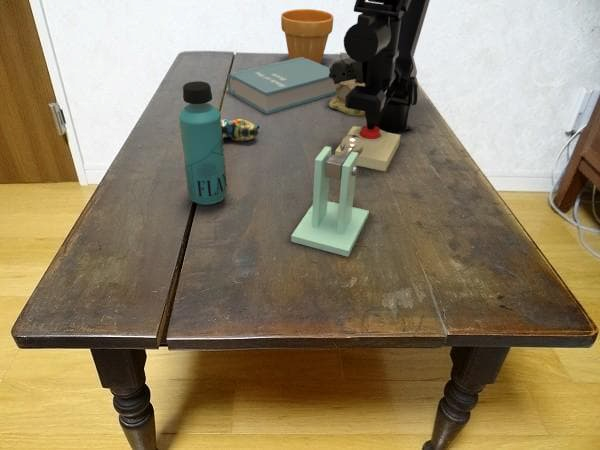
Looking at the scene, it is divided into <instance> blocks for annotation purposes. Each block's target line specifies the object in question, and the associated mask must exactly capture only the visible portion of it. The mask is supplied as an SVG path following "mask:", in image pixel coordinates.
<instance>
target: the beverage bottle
mask: <svg viewBox="0 0 600 450" xmlns="http://www.w3.org/2000/svg"><path fill="white" fill-rule="evenodd" d="M182 100H183V101H184V102H185V103H187V105H185V106H184V107H183V108H182V109H181V110H180V111H179V113H178V116H177V119H178V121H179V128H180V137H181V145H182V151H183V152H182V153H183V159H184V171H185V178H186V179H185V180H186V185H187V194H188V197H189V199H190V200H191V201H192V202H194V203H196V204H198V205H203V206H205V205H206V206H207V205H213V204H217V203H219V202H222V200H224V199H225V197H226V196H227V188H228V187H227V186H228V184H227V179H228V178H227V172H226V164H225V163H226V159H225V152H224V151H225V149H224V147H225V145H224V141H225V140H224V138H223V136H222V135H223V134H222V133H223V132H222V128H223V127H221V119H222V118H221V117H222V114H221V111H220V110H219V109H218V108H217V107H216V106H214V104H211V103H209V102H211V101H212V100H213V93H212V89H211V84H210V83H208V82H207V81H201V80H199V81H189V82H187V83H184V85H183V86H182Z"/></svg>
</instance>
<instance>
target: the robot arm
mask: <svg viewBox="0 0 600 450" xmlns="http://www.w3.org/2000/svg"><path fill="white" fill-rule="evenodd" d="M430 1H431V0H355V3H354V6H353V12H354V13H360V14H358V15H357V21H356V23H354V24H353V25H352V26H350V27H349V28H348V29H347V31H346V32H345V34H344V37H343V47H344V51H345V53H346V55H348V57H345V58H341V59H337V60H335V61H334V62H333V63H332V64H331V65H330V66H329V68H330V69H329V70H330V74H329V77H330V78H332V79H333V81H334V84H339V83H340V82H344V81H348V80H353V79H356V82H355V83H360V84H362V83H365V86H358V85H357V86H355V87H354V88H353V89H351V91H350V92H349V93H348V94H347V95H346V99H345V107H346V108H349V109H355V110H360V111H365V122H366V125H367V128H368V129H371V130H373V129H374V127H375V126H377V127H378V128H379V129H381V130H383V131H385V132H388V133H393V134H398V133H402V132H406V131H411V130H412V127H411V126H410V125H409V124H408V120H409V119H408V118H409V113H410V108H412V106H417V105H418V101H419V92H420V87H419V83H418V78H417V74H418V70H417V66H416V62H415V58H414V57H415V52H416V49H417V46H418V43H419V40H420V35H421V32H422V28H423V25H424V22H425V18H426V16H427V15H426V14H427V11H428V8H429V5H430Z"/></svg>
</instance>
